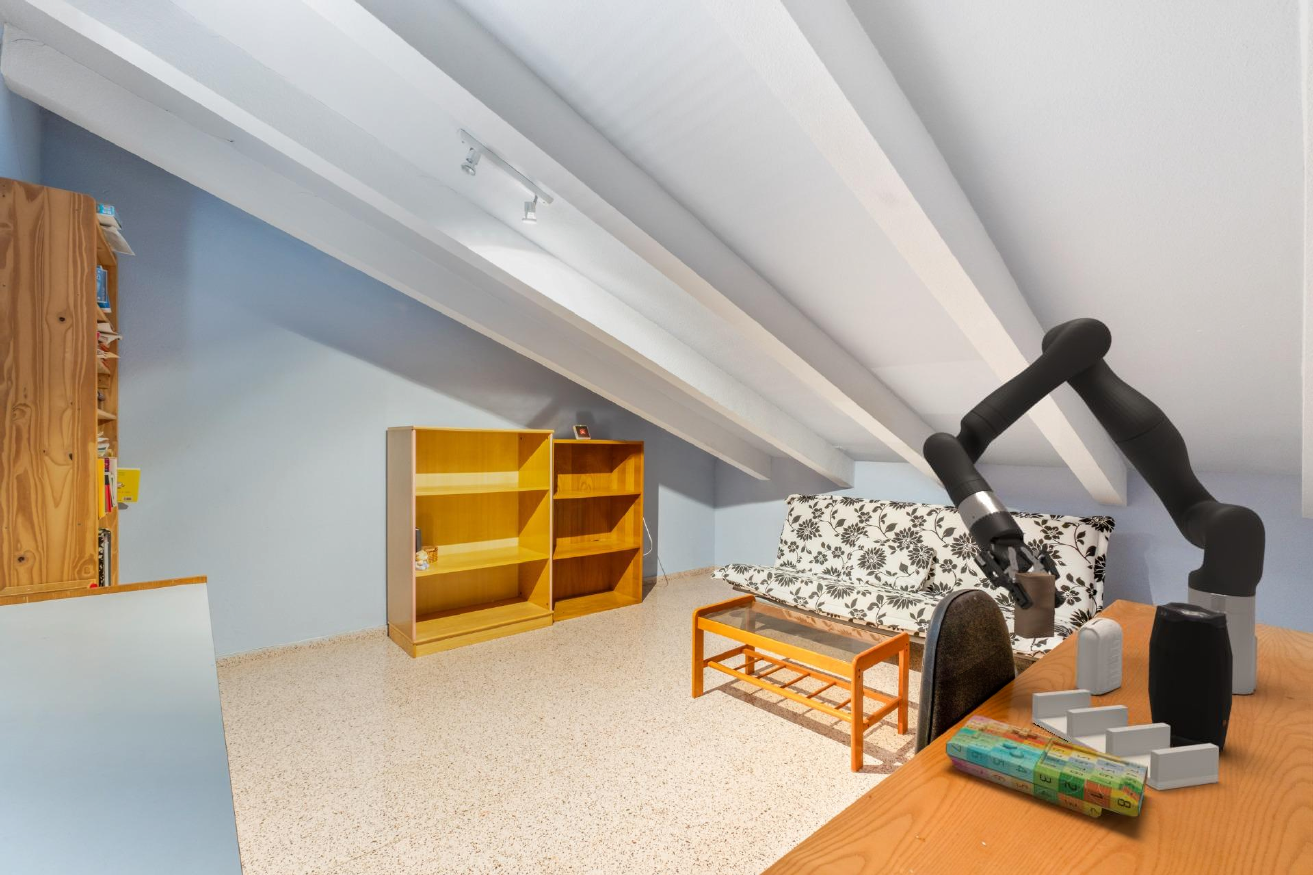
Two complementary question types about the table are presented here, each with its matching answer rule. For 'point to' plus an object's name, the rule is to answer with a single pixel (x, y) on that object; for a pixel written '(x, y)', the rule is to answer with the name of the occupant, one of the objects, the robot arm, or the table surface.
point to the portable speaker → (1190, 674)
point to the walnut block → (1036, 606)
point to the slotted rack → (1125, 739)
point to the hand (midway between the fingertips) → (1043, 606)
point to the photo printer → (1099, 656)
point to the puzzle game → (1048, 767)
